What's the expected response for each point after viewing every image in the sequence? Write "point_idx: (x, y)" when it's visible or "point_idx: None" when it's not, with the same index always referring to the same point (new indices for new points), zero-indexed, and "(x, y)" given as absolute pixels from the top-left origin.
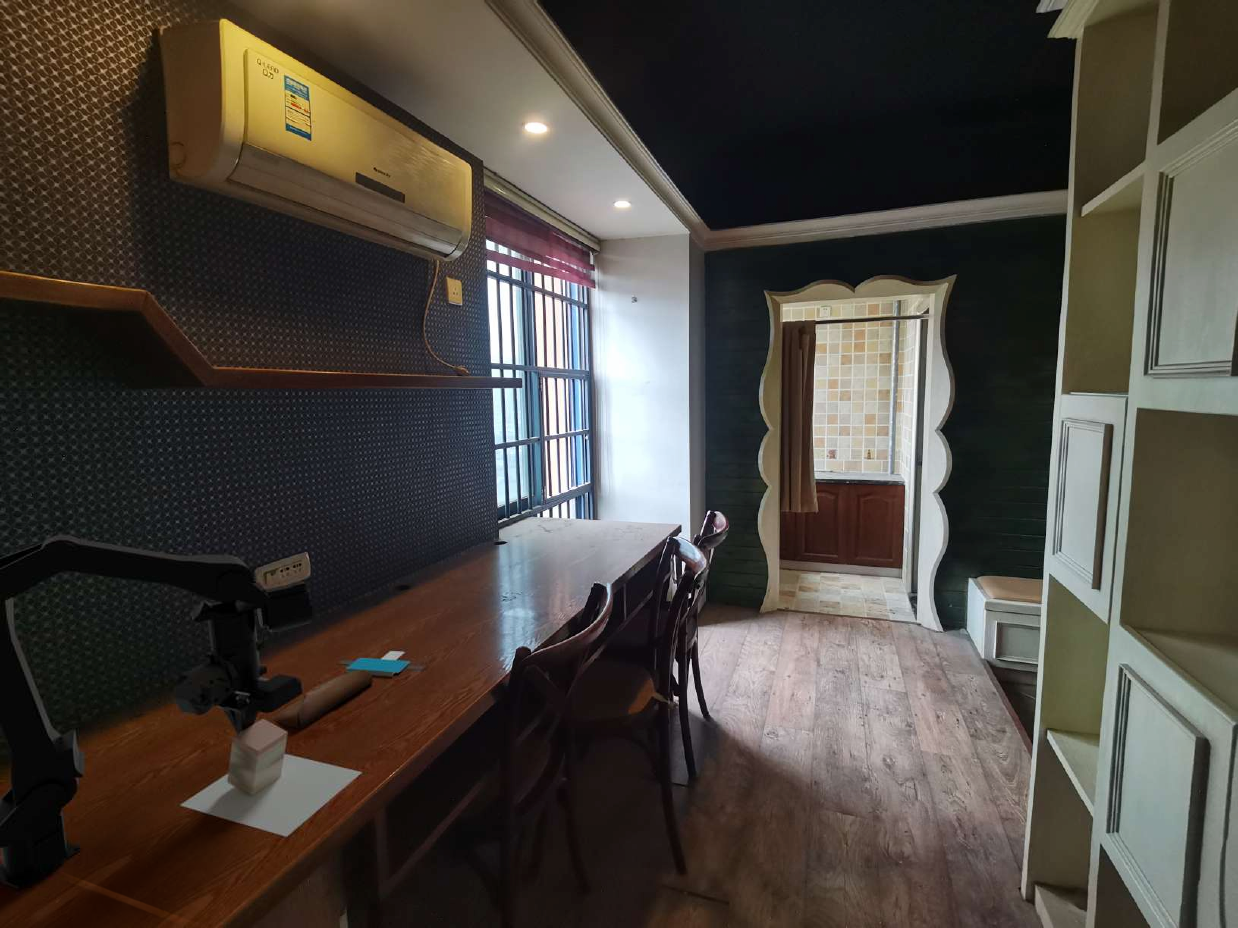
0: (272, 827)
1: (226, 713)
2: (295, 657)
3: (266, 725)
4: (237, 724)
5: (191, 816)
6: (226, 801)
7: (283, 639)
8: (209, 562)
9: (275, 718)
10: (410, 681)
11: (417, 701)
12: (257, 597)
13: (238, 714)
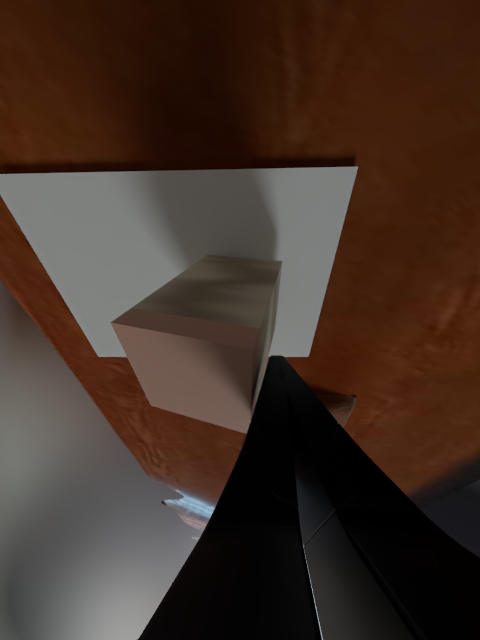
0: (55, 189)
1: (374, 477)
2: (415, 470)
3: (214, 414)
4: (283, 408)
5: (294, 150)
6: (248, 223)
7: (455, 484)
8: None
9: (350, 404)
10: (233, 465)
11: (192, 449)
12: None
13: (255, 493)
